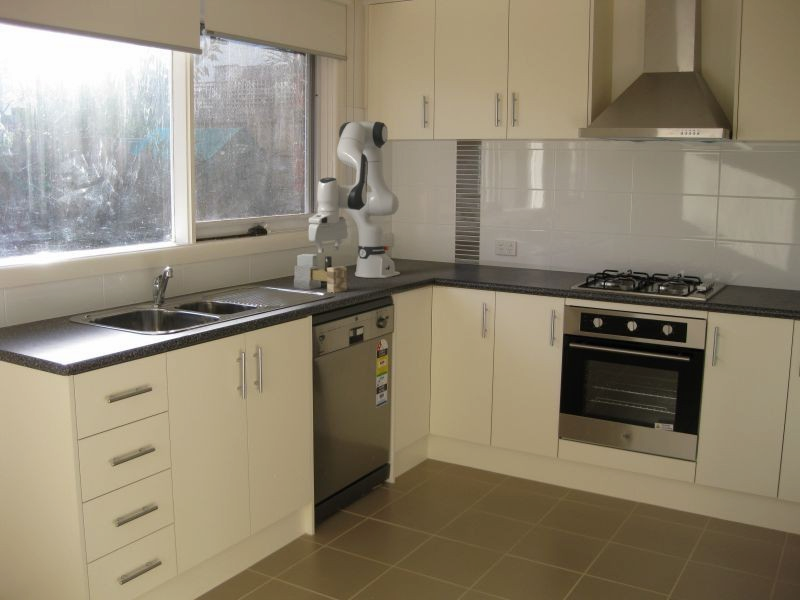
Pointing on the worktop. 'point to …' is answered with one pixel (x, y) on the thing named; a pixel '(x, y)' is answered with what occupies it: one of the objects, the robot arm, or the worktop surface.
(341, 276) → the beech socket block
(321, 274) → the brass slip tube
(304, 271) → the aluminium sleeve
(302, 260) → the supplement box
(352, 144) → the robot arm
